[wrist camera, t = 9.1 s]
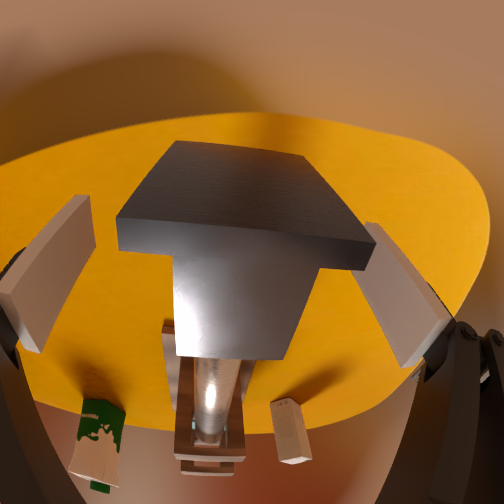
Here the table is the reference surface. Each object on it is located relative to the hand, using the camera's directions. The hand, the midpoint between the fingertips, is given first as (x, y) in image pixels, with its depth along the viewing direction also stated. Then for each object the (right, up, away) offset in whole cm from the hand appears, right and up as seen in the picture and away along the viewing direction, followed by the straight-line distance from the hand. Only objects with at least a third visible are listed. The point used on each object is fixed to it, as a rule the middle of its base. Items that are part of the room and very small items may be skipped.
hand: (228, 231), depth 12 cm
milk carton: (-30, -34, +34) cm, 57 cm away
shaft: (-2, -7, +10) cm, 13 cm away
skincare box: (+7, -30, +35) cm, 46 cm away
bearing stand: (-6, -20, +27) cm, 34 cm away
